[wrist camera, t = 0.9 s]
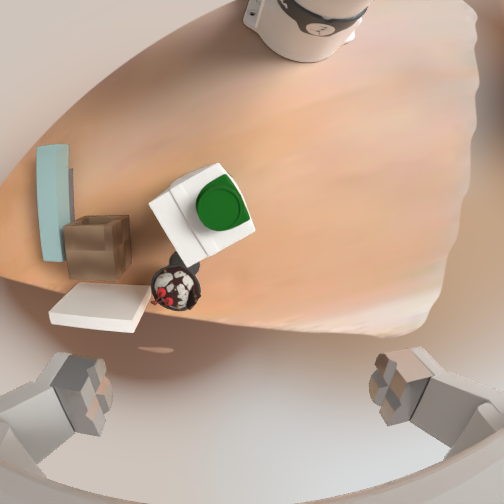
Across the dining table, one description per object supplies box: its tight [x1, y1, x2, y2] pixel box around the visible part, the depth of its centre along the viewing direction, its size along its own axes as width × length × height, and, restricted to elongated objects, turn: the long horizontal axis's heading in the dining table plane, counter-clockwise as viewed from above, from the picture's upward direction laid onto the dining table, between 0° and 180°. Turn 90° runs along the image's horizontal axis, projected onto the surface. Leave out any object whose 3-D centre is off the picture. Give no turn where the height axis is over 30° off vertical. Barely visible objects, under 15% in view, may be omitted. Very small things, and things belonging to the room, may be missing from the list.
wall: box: [49, 282, 151, 333], centre depth 42 cm, size 2×14×12 cm, turn 87°
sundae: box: [151, 251, 201, 311], centre depth 41 cm, size 7×7×15 cm
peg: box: [36, 144, 70, 262], centre depth 38 cm, size 18×4×4 cm, turn 177°
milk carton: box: [149, 163, 255, 268], centre depth 36 cm, size 9×9×20 cm
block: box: [63, 215, 132, 281], centre depth 41 cm, size 8×8×8 cm
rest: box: [68, 169, 75, 223], centre depth 41 cm, size 10×3×2 cm, turn 177°
